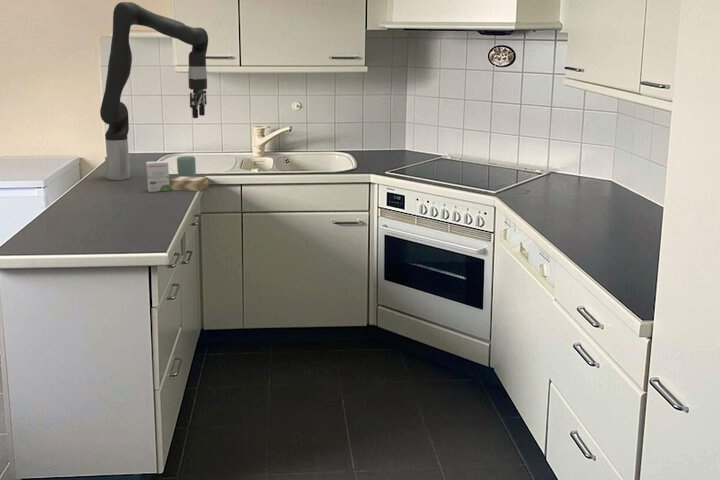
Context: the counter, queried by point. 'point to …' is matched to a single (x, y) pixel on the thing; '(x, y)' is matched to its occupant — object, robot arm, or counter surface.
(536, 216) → the counter surface
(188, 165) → the cup
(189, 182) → the plinth
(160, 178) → the ink box
